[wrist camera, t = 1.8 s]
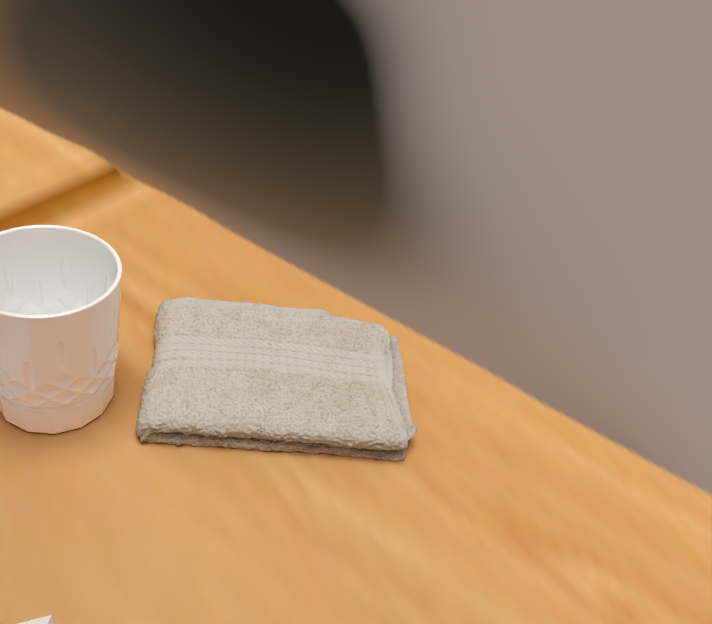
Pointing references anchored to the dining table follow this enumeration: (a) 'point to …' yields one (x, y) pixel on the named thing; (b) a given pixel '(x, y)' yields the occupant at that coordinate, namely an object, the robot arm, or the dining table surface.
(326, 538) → the dining table surface
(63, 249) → the white cup
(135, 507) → the dining table surface
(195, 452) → the dining table surface
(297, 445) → the washcloth
